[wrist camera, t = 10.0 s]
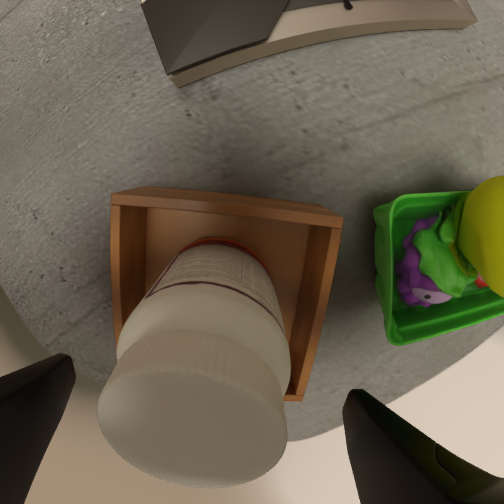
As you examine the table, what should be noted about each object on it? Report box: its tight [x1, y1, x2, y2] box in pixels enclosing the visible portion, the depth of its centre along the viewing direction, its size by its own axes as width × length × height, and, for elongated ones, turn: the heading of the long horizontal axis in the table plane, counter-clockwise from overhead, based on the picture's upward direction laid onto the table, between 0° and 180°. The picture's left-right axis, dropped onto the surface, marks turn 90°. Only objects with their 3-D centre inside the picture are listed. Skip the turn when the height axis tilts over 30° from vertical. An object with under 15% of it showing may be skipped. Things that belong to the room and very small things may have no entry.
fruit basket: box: [373, 175, 504, 346], centre depth 12 cm, size 11×9×11 cm
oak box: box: [110, 186, 344, 401], centre depth 16 cm, size 10×10×4 cm
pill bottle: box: [97, 237, 291, 488], centre depth 12 cm, size 6×6×11 cm
